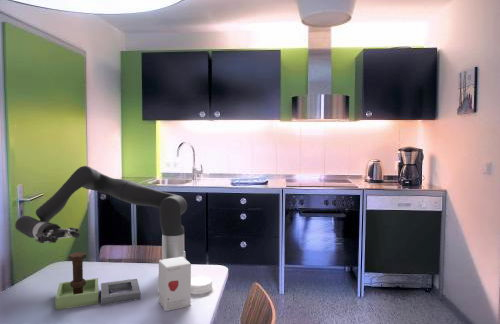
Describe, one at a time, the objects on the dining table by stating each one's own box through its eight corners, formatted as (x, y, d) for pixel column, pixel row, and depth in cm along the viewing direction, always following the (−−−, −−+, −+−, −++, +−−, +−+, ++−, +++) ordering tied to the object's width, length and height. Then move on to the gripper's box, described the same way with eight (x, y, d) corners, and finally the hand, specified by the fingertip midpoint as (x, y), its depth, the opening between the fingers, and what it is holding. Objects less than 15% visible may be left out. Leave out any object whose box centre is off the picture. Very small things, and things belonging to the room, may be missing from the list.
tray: (98, 288, 137) (98, 278, 136) (98, 303, 124) (97, 292, 123) (60, 293, 132) (59, 282, 131) (55, 309, 119) (55, 298, 118)
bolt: (79, 299, 124) (78, 257, 123) (66, 298, 125) (65, 256, 124) (89, 292, 130) (89, 252, 129) (77, 291, 131) (76, 251, 130)
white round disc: (205, 296, 130) (205, 287, 130) (181, 293, 133) (181, 284, 133) (216, 286, 140) (216, 277, 140) (192, 283, 143) (192, 274, 142)
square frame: (137, 284, 140) (137, 278, 140) (140, 299, 127) (140, 292, 127) (101, 289, 135) (101, 283, 135) (101, 305, 122) (101, 298, 122)
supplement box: (165, 312, 118) (165, 267, 117) (158, 301, 126) (157, 259, 125) (191, 306, 122) (191, 263, 121) (183, 296, 130) (182, 255, 129)
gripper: (27, 225, 138) (46, 231, 129) (64, 219, 150) (84, 224, 140) (28, 245, 139) (47, 252, 129) (65, 237, 150) (85, 243, 140)
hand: (66, 237), depth 134 cm, fingers open, 8 cm apart
